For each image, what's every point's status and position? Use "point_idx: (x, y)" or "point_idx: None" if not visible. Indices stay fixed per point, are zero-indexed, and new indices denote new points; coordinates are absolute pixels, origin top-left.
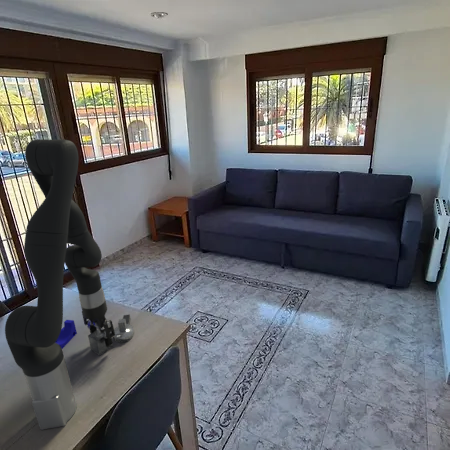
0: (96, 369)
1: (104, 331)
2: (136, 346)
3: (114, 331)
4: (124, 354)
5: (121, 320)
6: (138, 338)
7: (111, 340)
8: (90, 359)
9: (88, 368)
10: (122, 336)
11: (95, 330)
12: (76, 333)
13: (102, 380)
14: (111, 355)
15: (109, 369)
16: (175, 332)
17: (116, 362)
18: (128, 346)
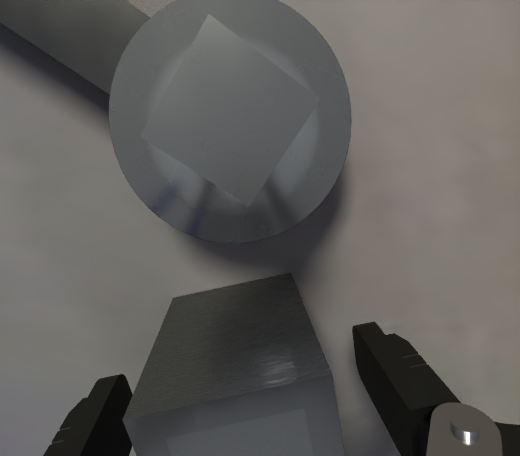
0: None
1: (256, 414)
2: (451, 122)
3: (183, 217)
4: (445, 241)
5: (211, 112)
6: (376, 45)
7: (430, 372)
8: None
9: (362, 451)
10: (329, 189)
11: (101, 440)
12: None
13: (515, 424)
14: (374, 314)
15: (478, 369)
16: None
17: (464, 315)
18: (394, 174)
